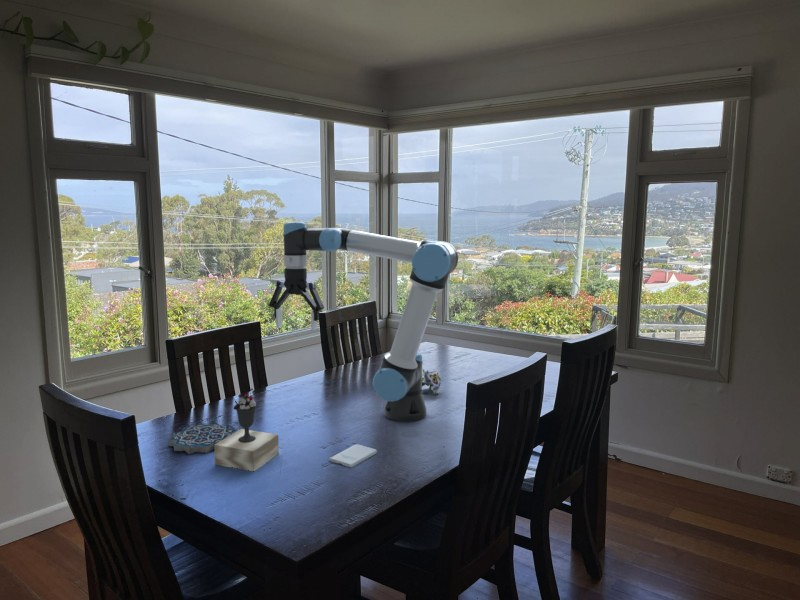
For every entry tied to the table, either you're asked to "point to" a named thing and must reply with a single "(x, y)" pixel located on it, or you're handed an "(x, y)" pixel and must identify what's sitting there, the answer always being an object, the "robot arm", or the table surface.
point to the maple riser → (246, 450)
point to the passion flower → (431, 381)
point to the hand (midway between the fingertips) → (296, 328)
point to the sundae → (246, 415)
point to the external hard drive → (353, 455)
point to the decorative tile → (199, 437)
